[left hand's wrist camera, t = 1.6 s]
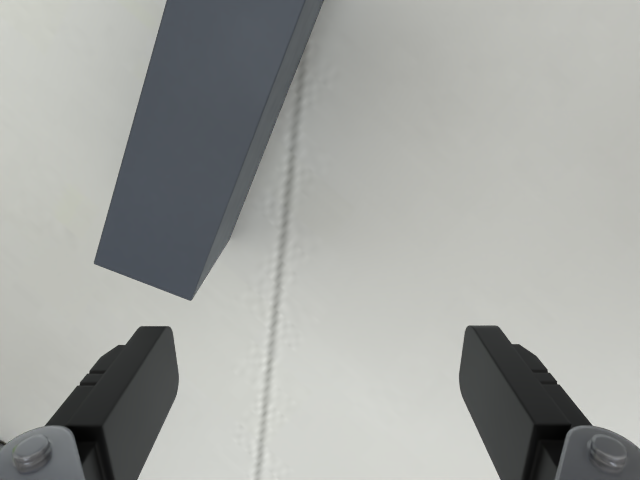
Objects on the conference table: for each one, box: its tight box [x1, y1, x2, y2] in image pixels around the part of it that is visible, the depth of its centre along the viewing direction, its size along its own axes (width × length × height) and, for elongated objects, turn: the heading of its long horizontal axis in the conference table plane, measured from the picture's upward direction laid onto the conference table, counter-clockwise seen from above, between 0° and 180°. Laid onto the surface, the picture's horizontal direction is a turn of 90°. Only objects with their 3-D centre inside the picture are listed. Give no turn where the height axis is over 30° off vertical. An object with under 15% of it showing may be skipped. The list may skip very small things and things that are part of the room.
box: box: [94, 0, 324, 301], centre depth 26 cm, size 23×6×11 cm, turn 156°
